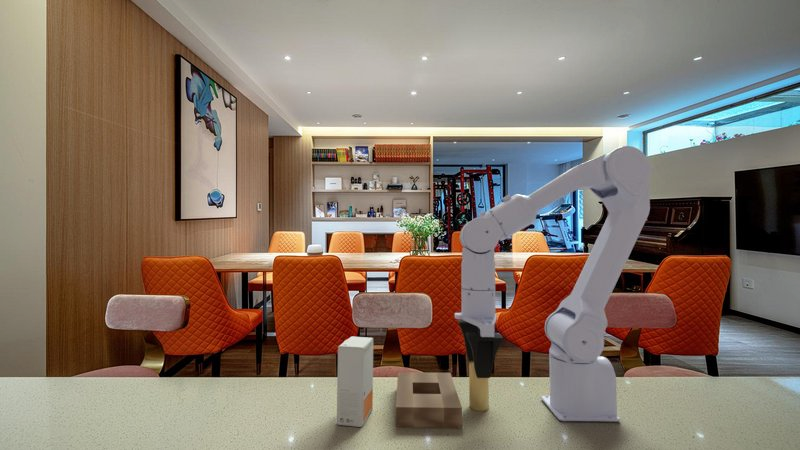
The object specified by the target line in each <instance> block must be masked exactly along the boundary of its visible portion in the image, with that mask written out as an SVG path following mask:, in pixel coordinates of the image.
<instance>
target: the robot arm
mask: <svg viewBox="0 0 800 450" xmlns="http://www.w3.org/2000/svg"><path fill="white" fill-rule="evenodd" d="M653 172H654V168H653V165H651V163H650V161H649V160H648V157H647V156H646V155H645V153H644V152H643V151H641V150H640V149H639V148H637V147H635V146H631V145H622V146H619V147H616V148H615V149H613V150H612V151H610V152H609V153H603V154H601V155H598V156H596V157H594V158H592V159H590V160H588V161H585V162H583V163H580V164H578V165H575V166H574V167H572V168H570V169H568V170H567V171H565V172H564V173H561V174H560V175H558V176H557V177H555V178H554V179H552V180H550V181H549V182H548V183H546V184H545V185H543V186H541V187H540V188H538V189H537V190H535V191H534V192H532V193H530V194H529V195H523V194H519V193H515V194H514V195H512V196H511V194H507V195H505V196H504V197H502V198H501V200H502V202H499V203H498V204H497V205H495V206H494V207H492V208H490V209H488V210H486V211H485V210H482V211H481V212H478V216H479V217H475V218H473V219H472V220H470V221H468V222H466V223H465V224H464V225H463V226H462V228H461V230H460V235H459V236H458V238H459V242H460V244H461V246H462V251H461V257H462V260H461V275H460V276H461V279H460V281H461V283H460V284H461V285H460V286H461V303H460V304H461V309H460V310H461V311H460V312H454V319H456V320H457V324H458V326H459V328H460V330H461V333H462V338H463V341H464V346H465V353H466V357H467V360H468V362H474V368H475V373H476V376H477V378H488V379H490V378H491V376H492V371H493V369H494V368H493V367H494V363H495V357H496V355H497V353H498V350H499V348H500V346H501V345H502V343H503V341H504V337H503V335H502V334H500V333H498V334H496V333H495V324H496V322H497V314H496V262H495V248H496V247H497V245H498V244H499V241H504V240H506V239H508V238H510V237H511V236H513V235H515V234H517V233H518V232H520V231H521V230H523V229H525V228H526V227H529V226H531V225H532V224H533V223H535V221H536V218H537V215H538V213H539V212H538V211H540V210H542V209H544V208H546V207H548V206H549V205H551V204H553V203H555V202H557V201H558V200H561V199H562V198H563V197H566V196H568V195H569V194H572V193H574V192H575V191H585V190H590V191H591V193H593V195H595V196H596V197H597V198H598V199H599V201H601V202H602V203H603V205H604V207H605V208H606V210H607V212H608V214H607V217H606V219H605V222H604V224H603V225H602V227H601V230H600V231H599V234H598V235H597V238H596V239H595V242H594V245H593V247H592V248H591V251H590V253H589V255H588V257H587V259H586V261H585V264H584V266H583V268H582V269H581V272H580V274H579V276H578V277H577V278H578V279H577V280H576V283H575V285H574V286H573V289H572V290H571V293H570V294H569V295H568V296H566V297H565V298H564V299H562V301H560V303H559V305H558V307H557V308H556V309H555V310H554V311H553V312H552V313H550V314H549V315H548V317H547V318H546V320H545V323H544V332H545V336H546V337H547V338H548V340H549V341H550V342H551V345H550V348H549V349H548V351H549V355H548V356H549V357H548V358H549V360H548V362H549V395H541V396H540V399H541V401H542V402H543V403H544V404H545V405H546V406H547V407H548V409H550V411H551V412H552V414H553V415H554V416H555V417H556V418H557V419H558V420H559V421H561V422H620V421H621V418H620V417H619V416H618V405H617V403H618V401H617V398H618V397H617V395H618V394H617V393H618V392H617V376H616V372H615V370H614V369H615V368H614V367H613V364H612V363H611V361H610V360H609V359H608V358H607V357H606V356H602V353H603V350H604V347H605V332H606V330H607V329H606V328H608V318H607V315H606V311H605V307H606V305H607V303H608V301H609V299H610V298H611V296H612V293H613V290H614V288H615V287H616V284H617V282H618V280H619V278H620V276H621V273H622V272H623V270H624V268H625V266H626V263H627V261H628V260H629V257H630V255H631V253H632V250H633V248H634V247H635V244H636V242H637V240H638V238H639V236H640V234H641V231H642V229H643V227H644V225H645V224H646V221H647V219H648V217H649V215H650V210H651V202H650V201H651V199H650V179H651V177H652V174H653Z"/></svg>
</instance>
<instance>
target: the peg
mask: <svg viewBox="0 0 800 450" xmlns="http://www.w3.org/2000/svg"><path fill="white" fill-rule="evenodd" d="M468 374H469V375H468V376H469V377H468V378H469V382H468V383H469V386H468V387H469V393H468V394H469V398H468V399H469V400H468V402H469V408H470V409H472V410H473V411H477V412H486V411H488V410H489V408H490V404H489V402H490V401H489V396H490V395H489V393H490V392H489V382H490V381H489V378H477V376H476V373H475V368H474V361H470V362H469V364H468Z"/></svg>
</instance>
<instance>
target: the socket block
mask: <svg viewBox="0 0 800 450" xmlns="http://www.w3.org/2000/svg"><path fill="white" fill-rule="evenodd" d="M396 381H397V382H396V383H397V384H396V398H395V399H396V400H395V428H411V429H412V428H414V429H417V428H421V429H422V428H424V429H425V428H426V429H428V428H431V429H433V428H435V429H437V428H438V429H446V428H447V429H462V428H463V407H462V404H461V400H460V398H459V395H458V393H457V389H456V386H455V382H454V380H453V377H452V374H451V372H417V371H416V372H410V371H409V372H407V371H406V372H403V371H402V372H397V380H396Z"/></svg>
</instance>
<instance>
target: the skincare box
mask: <svg viewBox="0 0 800 450" xmlns="http://www.w3.org/2000/svg"><path fill="white" fill-rule="evenodd" d="M336 381H337V382H336V383H337V389H336V390H337V391H336V425H339V426H345V427H346V426H348V427H357V428H362V427H363V426H364V424H365V422H366V420H367V418H368V417H369V415H370V414H371V412H372V411H373V403H374V402H373V396H374V394H373V392H374V389H373V388H374V337H366V336H365V337H364V336H354V335H353V336H350V337H349V338H347V339H345V340H344V341H343V342H342V343H341V344H340V345H338V346H337V380H336Z"/></svg>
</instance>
